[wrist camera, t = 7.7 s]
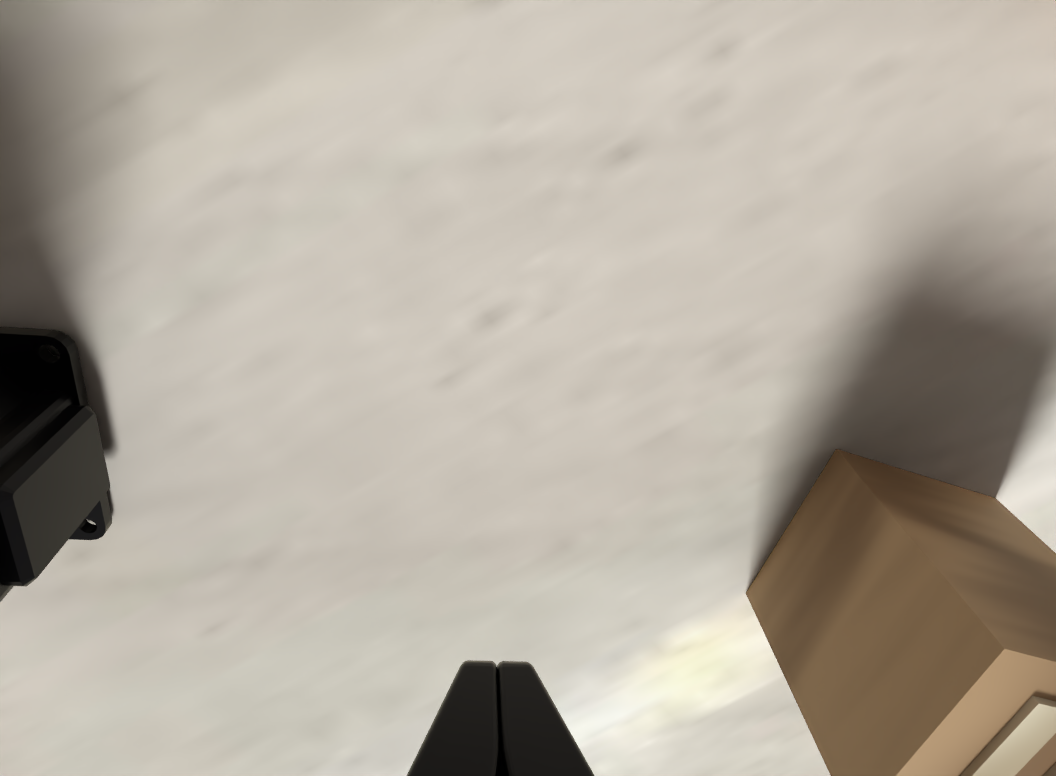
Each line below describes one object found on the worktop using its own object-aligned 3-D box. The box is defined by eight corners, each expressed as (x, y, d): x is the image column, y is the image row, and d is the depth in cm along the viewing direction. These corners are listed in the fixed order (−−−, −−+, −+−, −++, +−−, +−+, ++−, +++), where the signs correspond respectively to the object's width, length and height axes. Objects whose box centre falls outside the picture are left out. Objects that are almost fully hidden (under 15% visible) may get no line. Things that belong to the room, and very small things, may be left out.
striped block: (745, 592, 25) (857, 833, 17) (835, 448, 22) (1010, 656, 15) (898, 632, 26) (1063, 871, 18) (999, 499, 23) (1235, 713, 16)
